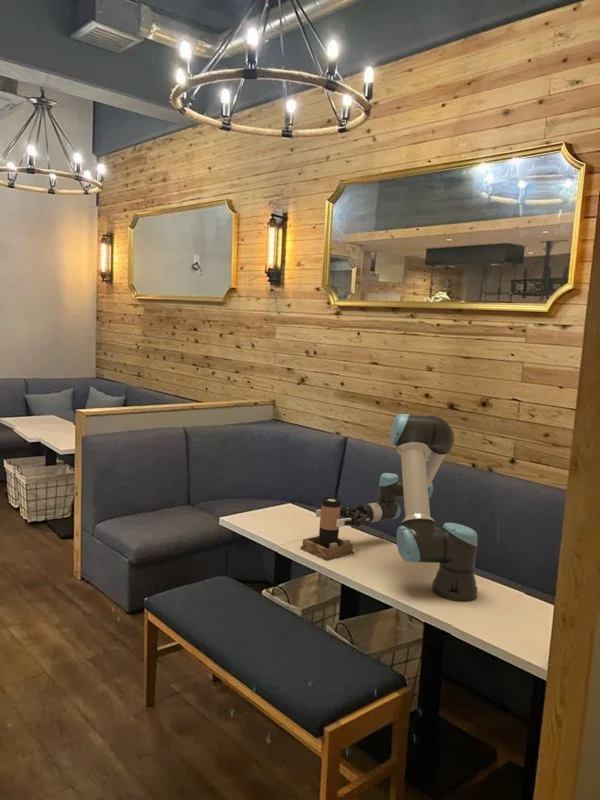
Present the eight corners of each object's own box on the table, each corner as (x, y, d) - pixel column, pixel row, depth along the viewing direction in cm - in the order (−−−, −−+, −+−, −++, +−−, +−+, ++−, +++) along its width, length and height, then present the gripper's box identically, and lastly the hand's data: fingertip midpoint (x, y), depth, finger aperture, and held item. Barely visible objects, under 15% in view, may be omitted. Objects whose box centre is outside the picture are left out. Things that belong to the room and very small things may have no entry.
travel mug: (314, 549, 246) (318, 499, 244) (322, 544, 253) (326, 495, 251) (332, 553, 243) (336, 502, 241) (340, 548, 249) (344, 499, 248)
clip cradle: (354, 553, 247) (355, 539, 246) (326, 560, 237) (327, 546, 237) (327, 542, 258) (328, 529, 258) (300, 548, 248) (301, 534, 248)
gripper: (387, 531, 247) (345, 537, 236) (348, 513, 268) (307, 518, 256) (389, 512, 247) (346, 518, 235) (350, 496, 267) (309, 500, 255)
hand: (326, 518), depth 245 cm, fingers open, 13 cm apart
